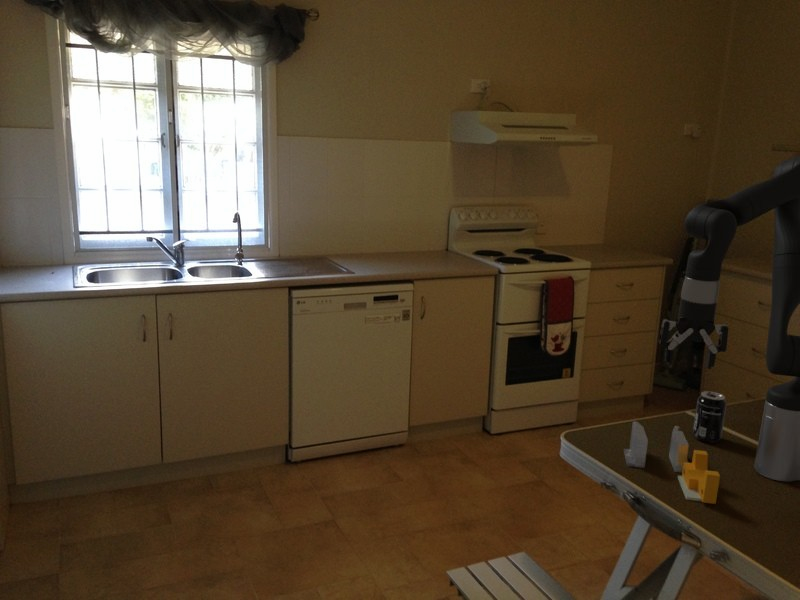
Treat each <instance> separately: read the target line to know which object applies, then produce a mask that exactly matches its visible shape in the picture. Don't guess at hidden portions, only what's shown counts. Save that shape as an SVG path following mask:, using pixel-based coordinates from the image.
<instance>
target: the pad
mask: <svg viewBox="0 0 800 600" xmlns="http://www.w3.org/2000/svg"><path fill="white" fill-rule="evenodd" d="M677 479H678V482H679V485H680V488H681V489H682V492H683V494H684V498H685V499H686V500H688V501H695V502H696V501H697V502H702V500H701V498H700V496H699V493H698V491H697V490H695V489H688V487H687V485H686V483H685V481H684V479H683V476H682V475H677Z"/></svg>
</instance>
